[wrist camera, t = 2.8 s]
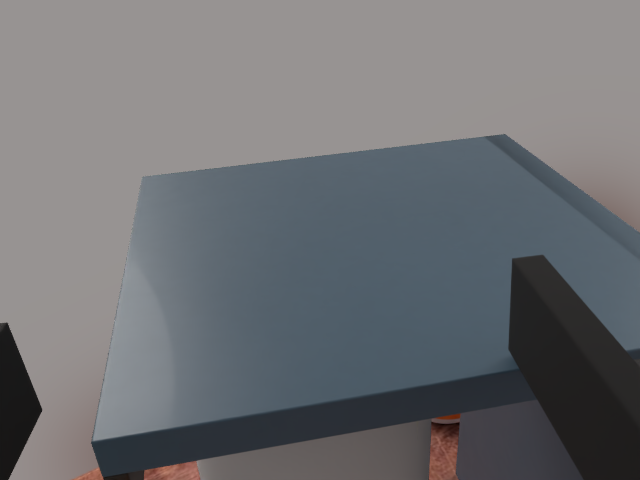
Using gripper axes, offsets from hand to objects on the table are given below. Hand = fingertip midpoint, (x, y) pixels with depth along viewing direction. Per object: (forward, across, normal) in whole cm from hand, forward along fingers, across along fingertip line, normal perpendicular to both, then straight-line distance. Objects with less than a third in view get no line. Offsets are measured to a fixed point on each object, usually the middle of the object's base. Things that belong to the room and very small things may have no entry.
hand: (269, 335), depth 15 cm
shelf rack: (+8, +2, -25) cm, 27 cm away
